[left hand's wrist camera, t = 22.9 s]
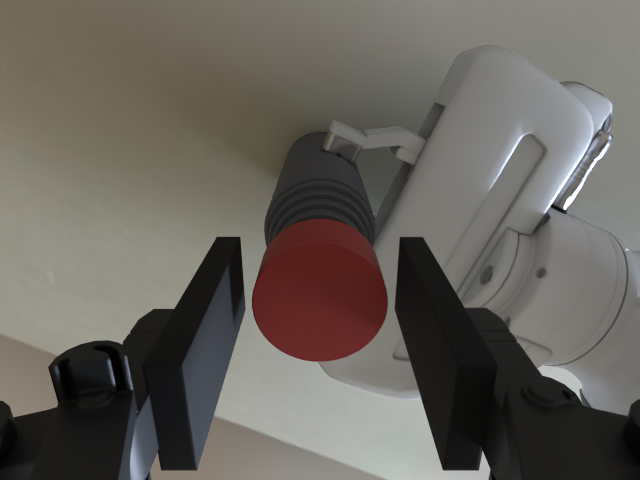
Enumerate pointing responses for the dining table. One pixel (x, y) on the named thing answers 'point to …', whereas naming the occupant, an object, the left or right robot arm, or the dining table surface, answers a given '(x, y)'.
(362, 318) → the cap
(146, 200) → the dining table surface
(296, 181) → the bottle
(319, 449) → the dining table surface
